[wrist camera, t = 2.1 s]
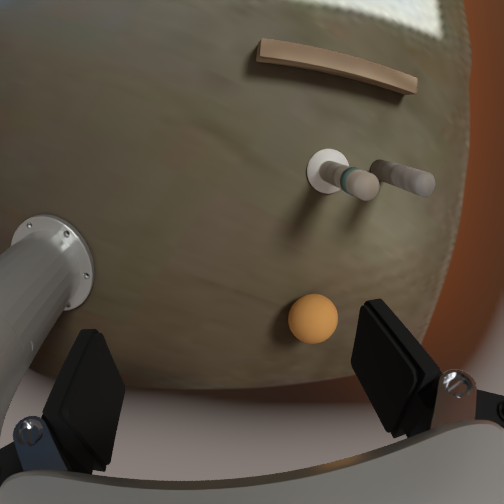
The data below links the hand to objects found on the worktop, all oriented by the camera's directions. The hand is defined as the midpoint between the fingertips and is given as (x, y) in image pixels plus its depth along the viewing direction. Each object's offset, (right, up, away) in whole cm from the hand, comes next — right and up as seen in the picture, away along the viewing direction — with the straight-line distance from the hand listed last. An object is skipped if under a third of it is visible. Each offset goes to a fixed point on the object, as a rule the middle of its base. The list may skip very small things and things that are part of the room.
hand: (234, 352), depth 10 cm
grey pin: (+16, +13, +22) cm, 30 cm away
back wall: (+10, +23, +17) cm, 31 cm away
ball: (+8, -5, +25) cm, 27 cm away
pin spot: (+9, +12, +21) cm, 26 cm away
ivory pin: (+9, +12, +21) cm, 26 cm away
